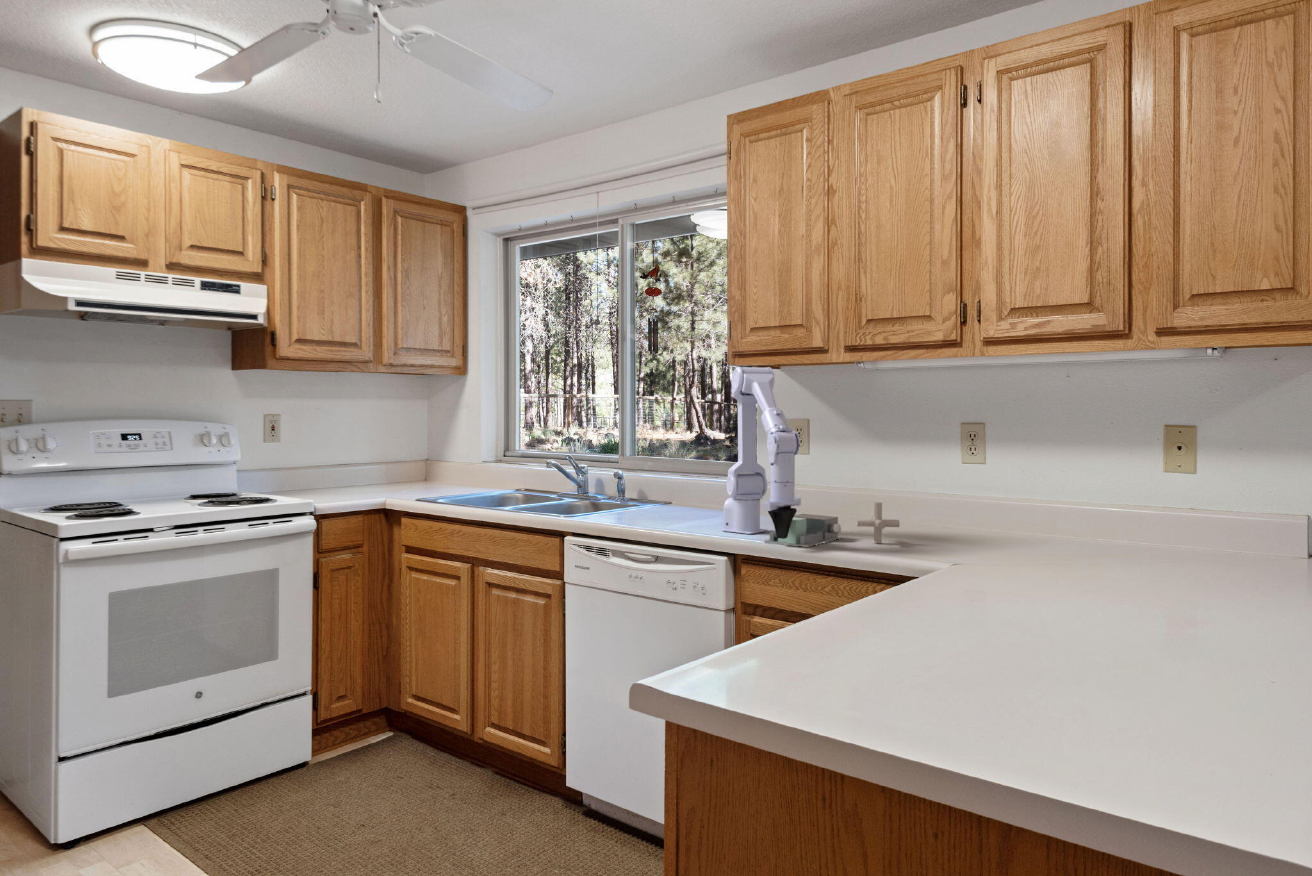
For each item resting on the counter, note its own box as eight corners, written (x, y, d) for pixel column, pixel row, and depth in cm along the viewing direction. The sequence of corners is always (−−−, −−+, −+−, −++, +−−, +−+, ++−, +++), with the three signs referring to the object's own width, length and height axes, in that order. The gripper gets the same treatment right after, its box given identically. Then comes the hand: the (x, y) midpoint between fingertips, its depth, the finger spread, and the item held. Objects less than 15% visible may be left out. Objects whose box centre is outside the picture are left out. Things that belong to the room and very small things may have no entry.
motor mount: (764, 542, 204) (764, 520, 204) (800, 533, 218) (800, 513, 218) (811, 548, 196) (811, 525, 196) (845, 539, 210) (846, 517, 210)
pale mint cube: (777, 541, 203) (778, 518, 203) (788, 538, 207) (788, 516, 207) (795, 543, 200) (796, 520, 199) (806, 540, 204) (806, 518, 203)
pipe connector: (894, 540, 208) (895, 500, 208) (902, 547, 198) (903, 505, 198) (854, 539, 209) (854, 500, 209) (859, 546, 199) (860, 504, 199)
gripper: (781, 484, 190) (780, 543, 191) (812, 480, 202) (811, 536, 202) (755, 483, 195) (754, 540, 195) (786, 479, 206) (786, 533, 207)
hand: (782, 538), depth 199 cm, fingers closed
